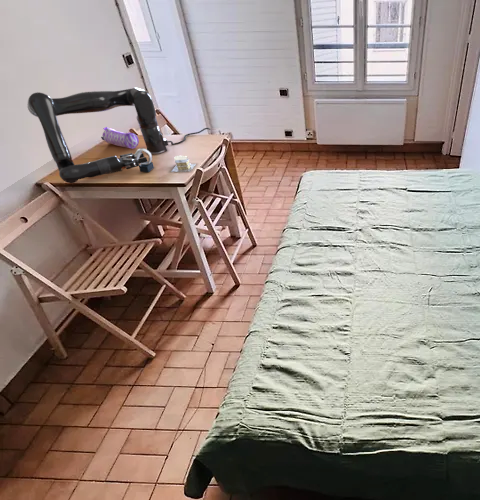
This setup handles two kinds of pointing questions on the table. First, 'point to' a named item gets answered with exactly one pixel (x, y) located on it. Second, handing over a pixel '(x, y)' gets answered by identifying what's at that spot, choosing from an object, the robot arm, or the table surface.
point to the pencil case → (120, 138)
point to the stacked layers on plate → (182, 164)
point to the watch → (146, 165)
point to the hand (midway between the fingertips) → (145, 157)
